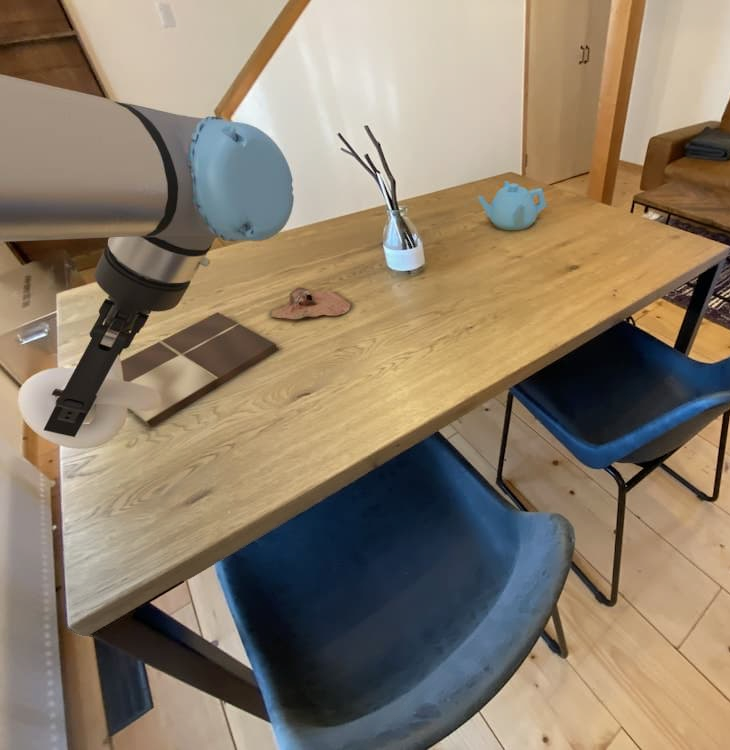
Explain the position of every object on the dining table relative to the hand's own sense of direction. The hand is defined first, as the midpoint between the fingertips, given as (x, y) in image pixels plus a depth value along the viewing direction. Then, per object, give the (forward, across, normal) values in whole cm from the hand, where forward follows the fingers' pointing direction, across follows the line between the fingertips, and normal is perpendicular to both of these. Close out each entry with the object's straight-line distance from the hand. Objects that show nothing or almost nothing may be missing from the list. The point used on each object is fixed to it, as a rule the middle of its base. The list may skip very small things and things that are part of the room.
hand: (81, 395), depth 54 cm
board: (+12, +25, -11) cm, 30 cm away
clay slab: (-4, +40, -27) cm, 48 cm away
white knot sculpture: (+2, -1, -5) cm, 5 cm away
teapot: (-43, +68, -66) cm, 104 cm away
